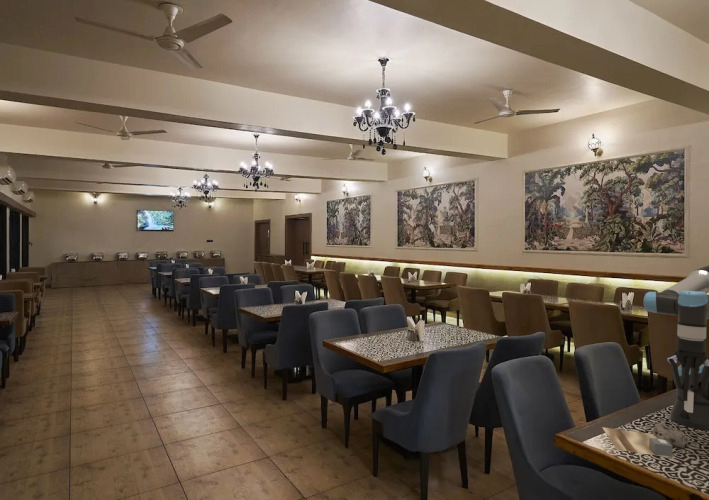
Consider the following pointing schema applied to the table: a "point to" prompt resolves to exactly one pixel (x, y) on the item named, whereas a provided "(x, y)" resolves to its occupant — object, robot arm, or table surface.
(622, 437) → the subfloor panel
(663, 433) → the stone
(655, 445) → the block
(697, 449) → the table surface
